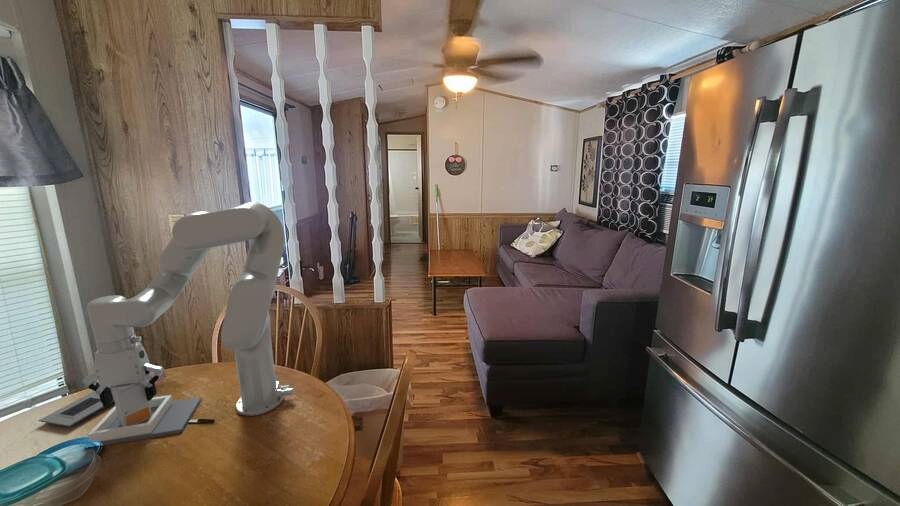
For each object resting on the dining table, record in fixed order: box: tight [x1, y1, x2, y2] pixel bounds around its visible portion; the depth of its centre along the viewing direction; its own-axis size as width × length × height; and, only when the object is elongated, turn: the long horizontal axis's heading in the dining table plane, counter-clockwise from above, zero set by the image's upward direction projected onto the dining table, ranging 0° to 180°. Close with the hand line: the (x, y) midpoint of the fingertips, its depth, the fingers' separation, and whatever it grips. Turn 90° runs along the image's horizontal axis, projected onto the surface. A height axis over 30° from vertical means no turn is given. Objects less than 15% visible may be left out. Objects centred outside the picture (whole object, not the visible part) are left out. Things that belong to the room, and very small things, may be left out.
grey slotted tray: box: [38, 391, 115, 427], centre depth 103 cm, size 13×10×2 cm
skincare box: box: [110, 382, 152, 427], centre depth 97 cm, size 6×4×12 cm
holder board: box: [87, 394, 202, 446], centre depth 99 cm, size 21×14×4 cm, turn 106°
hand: (130, 400), depth 97 cm, fingers open, 9 cm apart
